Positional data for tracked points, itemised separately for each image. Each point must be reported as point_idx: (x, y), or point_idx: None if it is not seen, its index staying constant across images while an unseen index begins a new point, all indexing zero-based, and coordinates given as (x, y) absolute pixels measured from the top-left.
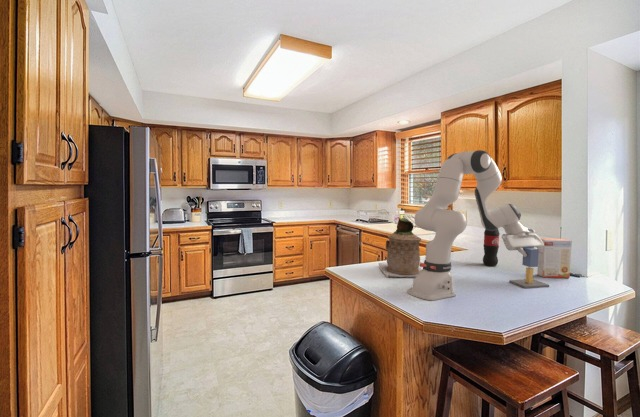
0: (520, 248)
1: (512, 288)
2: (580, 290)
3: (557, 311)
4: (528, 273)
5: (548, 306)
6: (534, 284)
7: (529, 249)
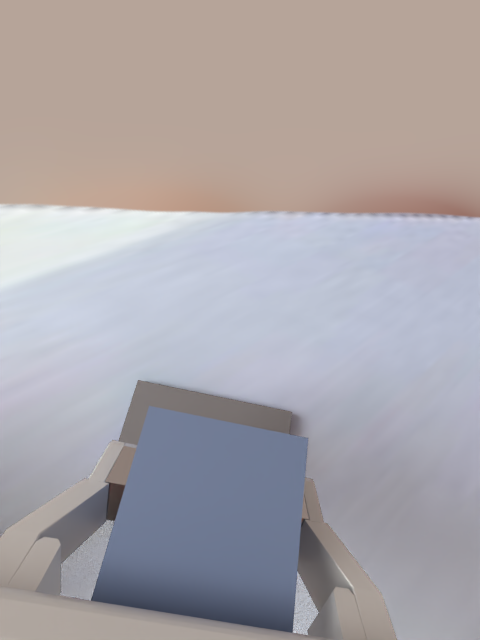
0: (389, 622)
1: (351, 439)
2: (60, 289)
3: (387, 224)
4: None
5: (380, 253)
6: (211, 417)
7: (302, 473)
